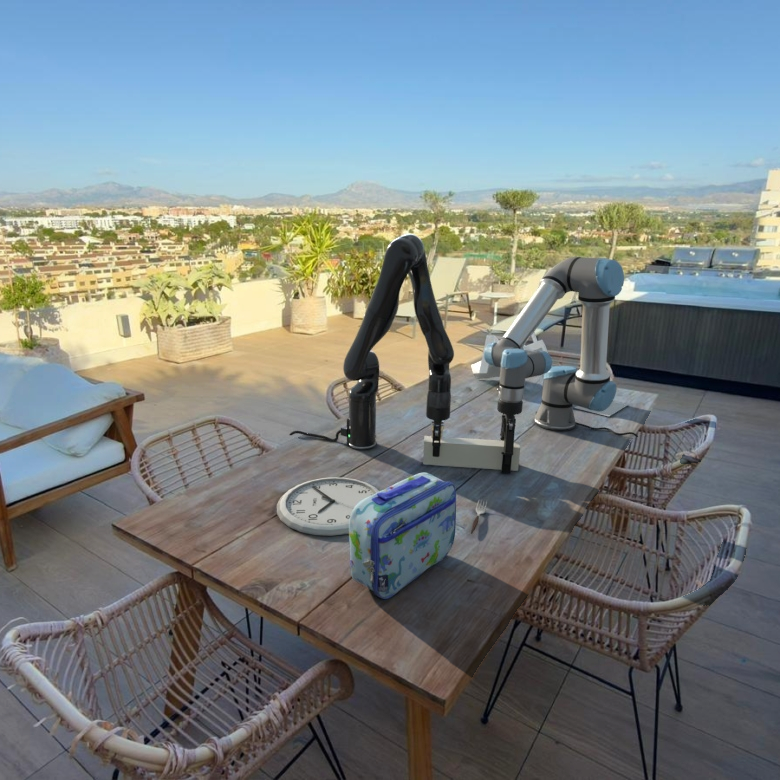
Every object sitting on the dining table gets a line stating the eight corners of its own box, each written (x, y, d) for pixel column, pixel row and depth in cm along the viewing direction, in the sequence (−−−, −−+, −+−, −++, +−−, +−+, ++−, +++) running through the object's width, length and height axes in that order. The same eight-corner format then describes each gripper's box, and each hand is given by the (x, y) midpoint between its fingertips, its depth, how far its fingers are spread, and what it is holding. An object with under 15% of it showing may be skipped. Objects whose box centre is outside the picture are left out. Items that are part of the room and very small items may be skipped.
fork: (465, 534, 130) (466, 527, 129) (478, 504, 144) (478, 498, 144) (476, 536, 129) (476, 529, 128) (487, 506, 143) (488, 499, 143)
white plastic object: (492, 421, 263) (472, 398, 238) (473, 348, 285) (453, 320, 260) (564, 397, 251) (551, 370, 226) (538, 322, 273) (524, 290, 248)
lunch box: (377, 612, 103) (378, 518, 97) (342, 586, 111) (341, 497, 104) (459, 557, 121) (465, 475, 115) (425, 538, 128) (428, 460, 122)
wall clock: (392, 527, 129) (268, 531, 127) (391, 533, 130) (269, 537, 127) (383, 473, 158) (282, 475, 155) (383, 478, 158) (282, 480, 156)
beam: (516, 464, 170) (518, 441, 167) (517, 470, 165) (520, 447, 163) (423, 458, 173) (424, 435, 171) (423, 464, 168) (423, 441, 166)
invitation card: (608, 416, 214) (573, 407, 224) (608, 416, 214) (573, 408, 224) (628, 404, 229) (594, 396, 238) (628, 405, 229) (594, 397, 238)
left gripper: (427, 395, 171) (425, 443, 176) (425, 410, 158) (423, 461, 163) (450, 396, 171) (448, 444, 176) (450, 411, 157) (447, 463, 162)
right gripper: (495, 388, 172) (490, 451, 178) (501, 410, 151) (494, 480, 158) (518, 389, 171) (512, 453, 178) (527, 411, 150) (520, 482, 157)
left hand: (436, 452), depth 169 cm, fingers closed on beam, 5 cm apart
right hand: (504, 466), depth 168 cm, fingers open, 9 cm apart
